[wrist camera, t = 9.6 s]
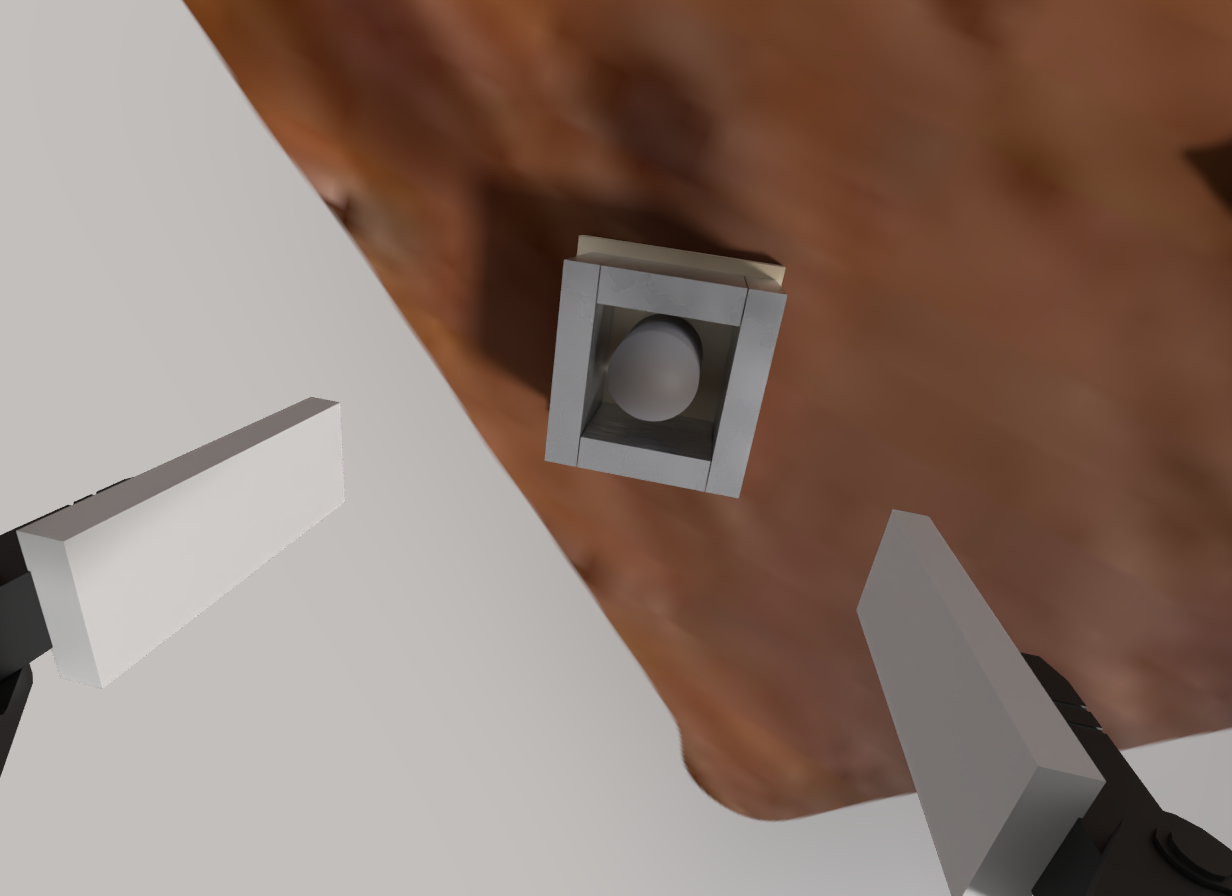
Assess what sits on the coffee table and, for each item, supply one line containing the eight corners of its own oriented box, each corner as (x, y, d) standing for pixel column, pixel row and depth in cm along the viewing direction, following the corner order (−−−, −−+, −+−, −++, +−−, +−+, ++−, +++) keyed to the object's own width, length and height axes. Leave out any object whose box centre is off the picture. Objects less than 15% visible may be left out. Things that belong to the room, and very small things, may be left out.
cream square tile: (583, 234, 30) (551, 239, 24) (783, 265, 29) (797, 277, 23) (563, 420, 34) (532, 460, 28) (739, 453, 33) (742, 501, 27)
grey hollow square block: (591, 251, 29) (563, 259, 24) (776, 280, 28) (787, 294, 23) (572, 422, 33) (544, 460, 28) (736, 453, 32) (738, 498, 27)
